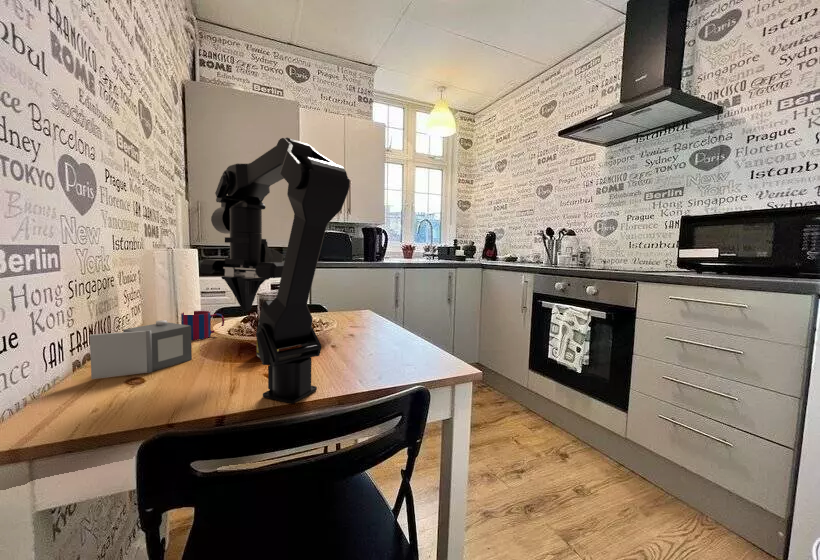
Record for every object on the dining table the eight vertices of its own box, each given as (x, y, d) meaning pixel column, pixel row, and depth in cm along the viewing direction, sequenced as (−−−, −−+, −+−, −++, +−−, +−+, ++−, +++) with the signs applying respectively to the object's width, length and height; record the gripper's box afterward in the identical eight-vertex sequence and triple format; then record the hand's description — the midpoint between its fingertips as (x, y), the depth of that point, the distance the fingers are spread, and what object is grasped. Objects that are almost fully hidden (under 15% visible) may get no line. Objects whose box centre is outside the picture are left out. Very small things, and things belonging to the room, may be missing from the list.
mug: (186, 335, 95) (185, 310, 94) (226, 333, 98) (226, 310, 97) (178, 341, 88) (177, 315, 88) (221, 339, 92) (221, 314, 91)
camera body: (192, 359, 74) (191, 322, 74) (147, 373, 66) (146, 330, 65) (166, 354, 77) (165, 318, 76) (120, 366, 68) (119, 326, 68)
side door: (153, 370, 66) (151, 329, 66) (152, 372, 65) (151, 331, 65) (93, 377, 62) (91, 334, 61) (91, 379, 61) (89, 335, 60)
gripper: (310, 236, 72) (310, 309, 73) (242, 235, 78) (243, 302, 79) (272, 232, 61) (272, 318, 63) (197, 231, 68) (199, 309, 69)
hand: (246, 311), depth 69 cm, fingers closed
